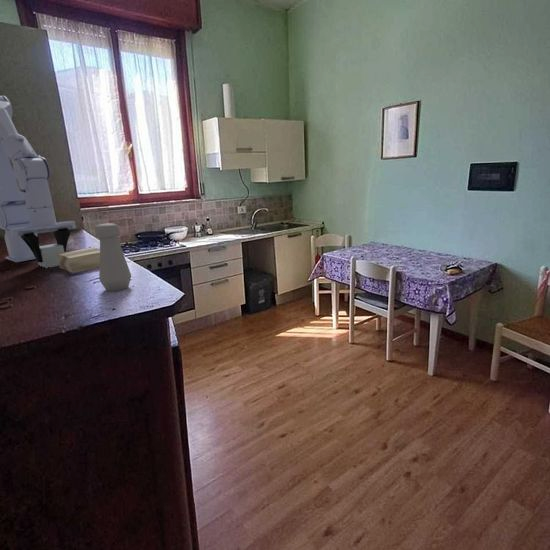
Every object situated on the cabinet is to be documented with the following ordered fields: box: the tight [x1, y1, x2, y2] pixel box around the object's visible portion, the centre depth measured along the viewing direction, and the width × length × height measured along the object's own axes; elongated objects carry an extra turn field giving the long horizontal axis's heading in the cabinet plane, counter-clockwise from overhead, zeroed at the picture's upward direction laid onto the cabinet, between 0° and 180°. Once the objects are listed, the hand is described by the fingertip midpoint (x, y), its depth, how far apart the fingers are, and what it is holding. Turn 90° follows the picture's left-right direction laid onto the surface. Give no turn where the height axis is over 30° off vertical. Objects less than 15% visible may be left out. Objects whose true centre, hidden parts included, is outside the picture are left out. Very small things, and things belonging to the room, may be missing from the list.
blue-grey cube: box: [37, 243, 64, 269], centre depth 94 cm, size 5×5×5 cm
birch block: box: [57, 246, 100, 274], centre depth 91 cm, size 9×9×4 cm
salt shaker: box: [94, 222, 132, 293], centre depth 70 cm, size 6×6×13 cm
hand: (51, 259), depth 95 cm, fingers closed on blue-grey cube, 5 cm apart
